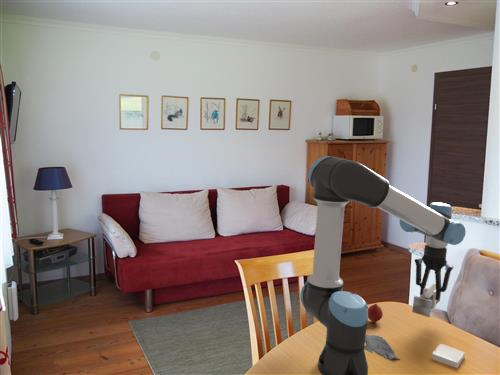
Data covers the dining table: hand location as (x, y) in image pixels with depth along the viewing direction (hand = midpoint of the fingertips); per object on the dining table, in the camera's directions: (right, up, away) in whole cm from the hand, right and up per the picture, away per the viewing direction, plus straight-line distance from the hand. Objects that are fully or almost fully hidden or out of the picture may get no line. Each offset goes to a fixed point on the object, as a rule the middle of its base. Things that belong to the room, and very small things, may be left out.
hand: (428, 305), depth 166 cm
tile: (+2, -12, -14) cm, 18 cm away
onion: (-19, -8, +6) cm, 21 cm away
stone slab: (-23, -12, -12) cm, 29 cm away
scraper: (0, 0, 0) cm, 0 cm away
